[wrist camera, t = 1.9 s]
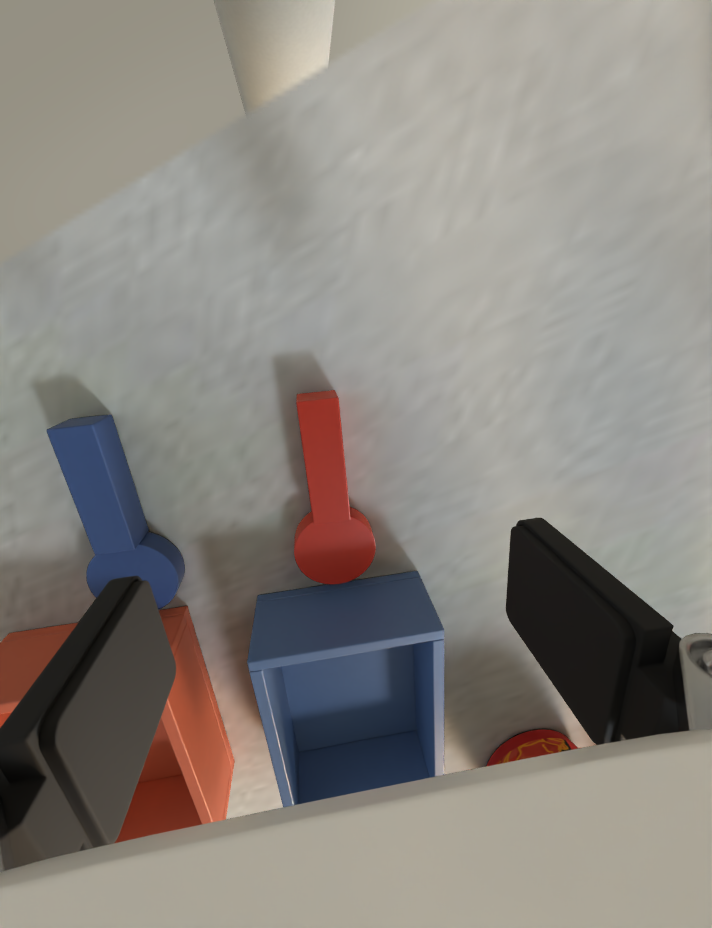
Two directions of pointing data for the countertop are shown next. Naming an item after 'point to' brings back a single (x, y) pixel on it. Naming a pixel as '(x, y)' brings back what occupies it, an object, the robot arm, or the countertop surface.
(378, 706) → the blue bin
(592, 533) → the countertop surface
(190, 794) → the terracotta bin
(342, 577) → the red spoon
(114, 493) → the blue spoon
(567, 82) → the countertop surface
